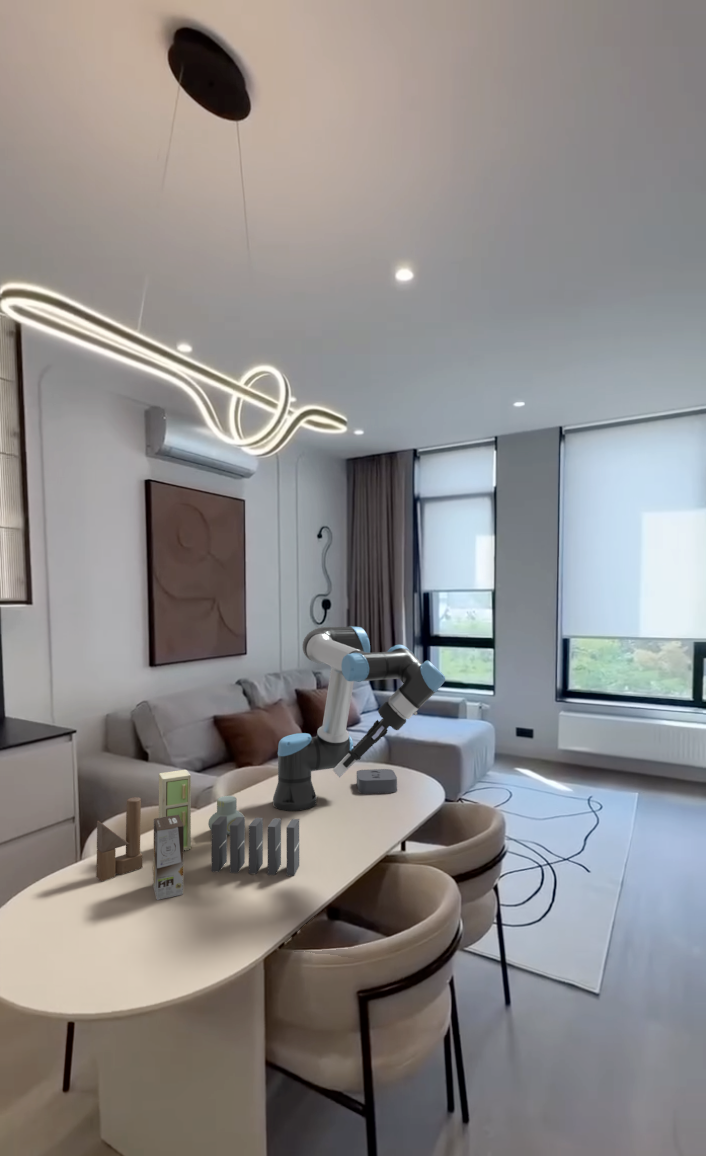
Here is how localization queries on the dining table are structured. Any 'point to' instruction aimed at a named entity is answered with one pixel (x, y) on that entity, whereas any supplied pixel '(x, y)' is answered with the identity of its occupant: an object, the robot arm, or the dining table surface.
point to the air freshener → (226, 811)
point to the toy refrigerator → (176, 799)
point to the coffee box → (168, 856)
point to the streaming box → (376, 781)
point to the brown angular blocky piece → (120, 845)
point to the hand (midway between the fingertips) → (336, 773)
